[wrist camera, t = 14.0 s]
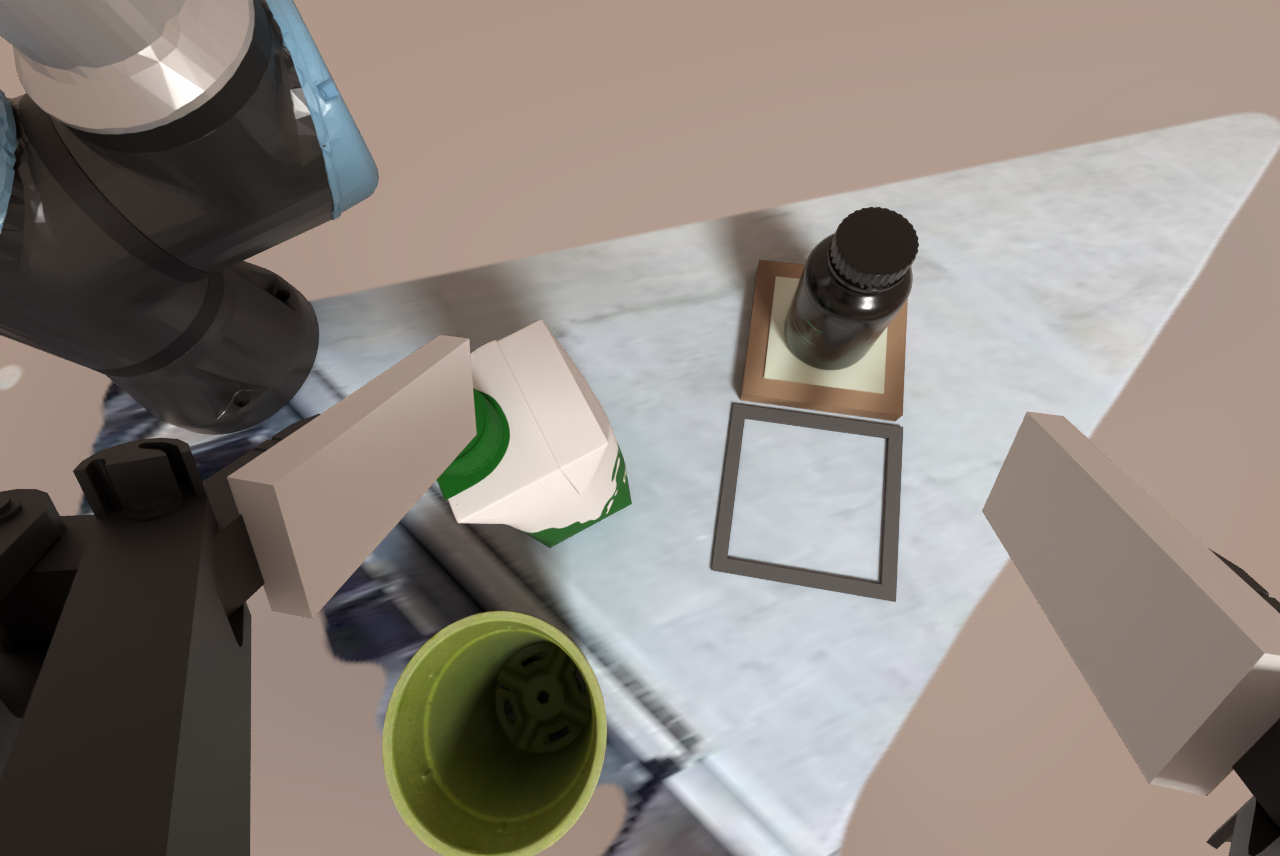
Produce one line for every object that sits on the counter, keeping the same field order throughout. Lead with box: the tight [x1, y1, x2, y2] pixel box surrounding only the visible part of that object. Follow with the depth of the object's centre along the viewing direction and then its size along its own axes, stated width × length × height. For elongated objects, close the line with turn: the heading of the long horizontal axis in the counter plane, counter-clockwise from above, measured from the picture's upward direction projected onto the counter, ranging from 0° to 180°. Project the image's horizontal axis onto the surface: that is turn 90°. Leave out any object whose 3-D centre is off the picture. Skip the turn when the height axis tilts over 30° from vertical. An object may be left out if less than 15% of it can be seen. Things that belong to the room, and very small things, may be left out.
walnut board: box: [740, 260, 908, 421], centre depth 45 cm, size 12×12×2 cm
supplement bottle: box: [784, 207, 919, 370], centre depth 39 cm, size 7×7×12 cm
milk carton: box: [437, 319, 632, 548], centre depth 34 cm, size 9×9×20 cm
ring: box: [712, 404, 903, 602], centre depth 42 cm, size 13×13×1 cm
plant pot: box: [382, 611, 607, 856], centre depth 34 cm, size 12×12×11 cm
